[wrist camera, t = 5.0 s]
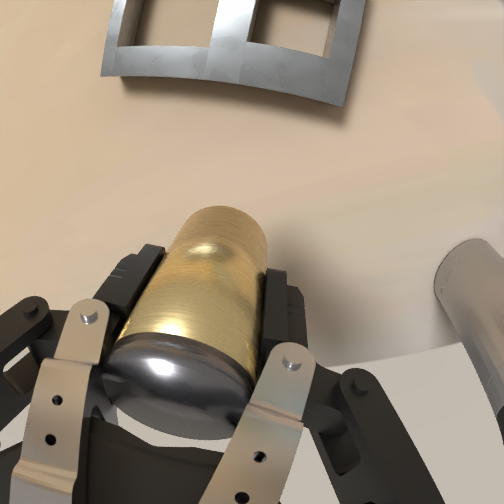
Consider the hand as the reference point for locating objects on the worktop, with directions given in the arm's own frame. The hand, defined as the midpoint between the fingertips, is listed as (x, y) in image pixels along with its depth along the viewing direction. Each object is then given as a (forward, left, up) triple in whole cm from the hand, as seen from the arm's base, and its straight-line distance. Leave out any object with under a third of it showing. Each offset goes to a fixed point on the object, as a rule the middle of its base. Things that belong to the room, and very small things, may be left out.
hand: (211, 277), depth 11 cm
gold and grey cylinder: (0, 0, -2) cm, 2 cm away
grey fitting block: (+3, -13, -15) cm, 20 cm away
